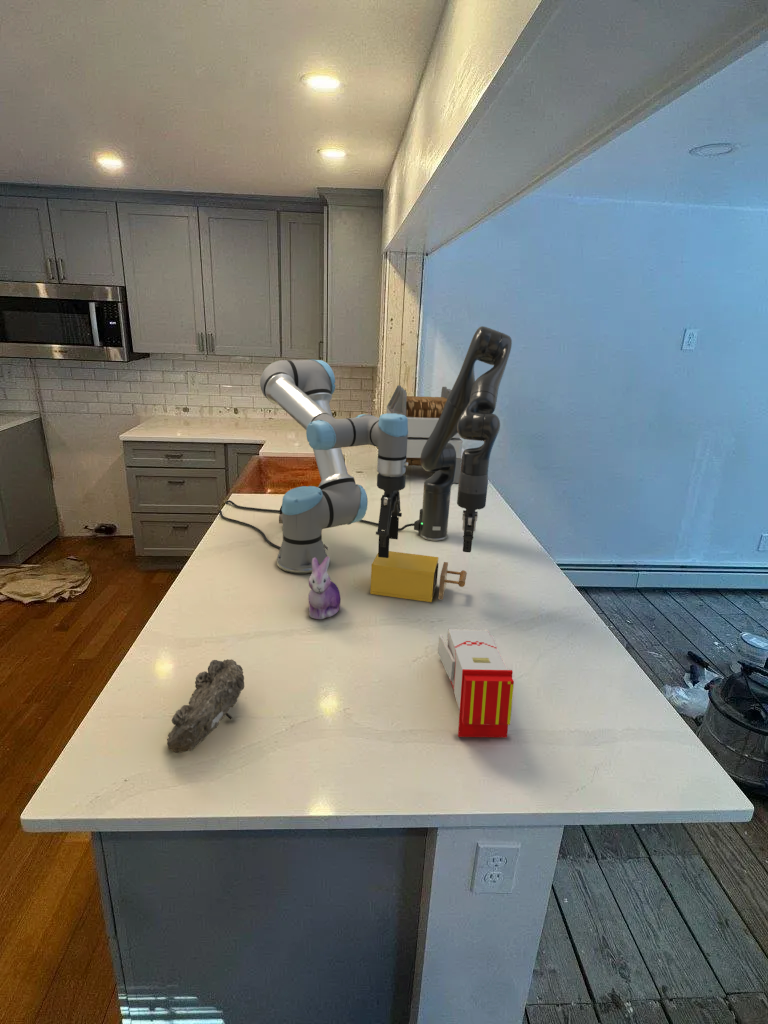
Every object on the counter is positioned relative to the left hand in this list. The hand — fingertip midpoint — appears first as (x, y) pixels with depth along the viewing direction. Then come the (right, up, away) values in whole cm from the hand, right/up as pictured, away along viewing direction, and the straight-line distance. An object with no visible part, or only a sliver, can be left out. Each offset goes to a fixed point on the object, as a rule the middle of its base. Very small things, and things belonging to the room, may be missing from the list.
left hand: (388, 547), depth 157 cm
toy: (+17, -28, -38) cm, 50 cm away
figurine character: (-35, +6, +48) cm, 60 cm away
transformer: (+16, +29, +118) cm, 123 cm away
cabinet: (+4, -12, +4) cm, 13 cm away
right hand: (+21, +1, -3) cm, 22 cm away
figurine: (-17, -16, -10) cm, 25 cm away
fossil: (-34, -29, -49) cm, 66 cm away
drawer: (+11, -12, +2) cm, 16 cm away
